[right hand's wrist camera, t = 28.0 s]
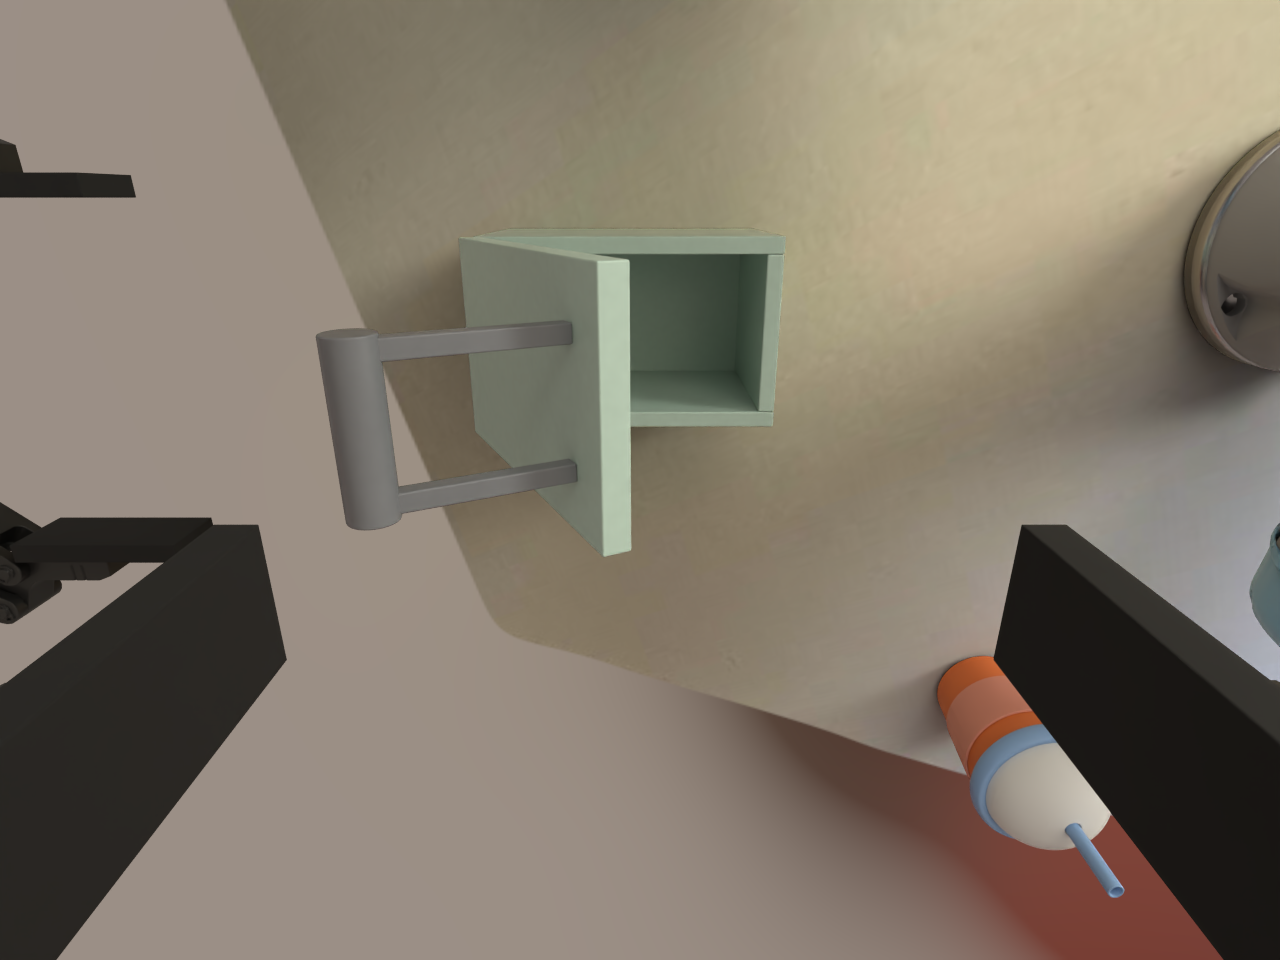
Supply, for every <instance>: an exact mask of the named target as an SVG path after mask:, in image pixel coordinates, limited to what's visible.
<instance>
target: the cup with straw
mask: <svg viewBox="0 0 1280 960" xmlns="http://www.w3.org/2000/svg"><path fill="white" fill-rule="evenodd" d="M993 659H994V657H989V656H977V657H972V658H968V659H965V660H963V661H961V662H959V663H957V664H955V665H954V666H952V667H951V668H950V669H949V670H948V671H947V672H946V673H945V674H944V676H943V677H942V679H941V681H940V683H939V686H938V691H937V697H938V702H939V704H940V707H941V709H942V712H943V714H944V716H945V719H946V721H947V728H948V732H949V734H950V736H951V739H952V741H953V743H954V746H955V748H956V750H957V752H958V755H959V757H960V759H961V762H962V764H963V766H964V769H965V771H966V773H967V776H968V778H969V779H970V795H971V799H972V802H973V805H974V807H975V809H976V811H977V813H978V814H979V815H980V817H981V818H982V819H983V820H984V821H985V822H986V823H987V824H988V825H989V826H990V827H991V828H992V829H994V830H995V831H997V832H998V833H1000V834H1002V835H1004V836H1007V837H1010V838H1013V839H1017V840H1018V841H1020V842H1022V843H1024V844H1027V845H1030V846H1032V847H1036V848H1041V849H1047V850H1064V849H1070V848H1074V847H1076V848H1077V849H1078V850H1079V852H1080V853H1081V855H1082V856H1083V858H1084V859H1085V861H1086V862H1087V864H1088V865H1089V867H1090V868H1091V870H1092V871H1093V873H1094V874H1095V876H1096V877H1097V879H1098V880H1099V882H1100V883H1101V884H1102V886H1103V888H1104V889H1105V891H1106V892H1107V893H1108V895H1109V896H1110V897H1114V898H1115V897H1119V896H1121V895H1122V894H1123V893H1124V888H1123V887H1122V885H1121V884H1120V883H1119V881H1118V880H1117V878H1116V877H1115V875H1114V874H1113V873H1112V871H1111V870H1110V868H1109V867H1108V865H1107V864H1106V863H1105V861H1104V860H1103V858H1102V857H1101V855H1100V854H1099V853H1098V851H1097V850H1096V848H1095V847H1094V846H1093V844H1092V843H1091V841H1090V840H1091V839H1092V838H1094V837H1095V836H1096V835H1097V834H1098V833H1099V832H1100V831H1101V830H1102V829H1103V827H1104V826H1105V825H1106V823H1107V821H1108V819H1109V817H1110V814H1111V812H1110V811H1109V810H1108V808H1107V807H1106V806H1105V805H1104V803H1103V802H1102V801H1101V799H1100V798H1099V797H1098V795H1097V794H1096V793H1095V792H1094V790H1093V789H1092V788H1091V786H1090V785H1089V784H1088V782H1087V781H1086V780H1085V779H1084V777H1083V776H1082V775H1081V773H1080V772H1079V771H1078V769H1077V768H1076V767H1075V766H1074V764H1073V763H1072V762H1071V760H1070V759H1069V758H1068V756H1067V755H1066V754H1065V753H1064V751H1063V750H1062V749H1061V747H1060V746H1059V745H1058V743H1057V742H1056V741H1055V739H1054V738H1053V737H1052V736H1051V734H1050V733H1049V732H1048V730H1047V729H1046V728H1045V726H1044V725H1043V724H1042V723H1041V721H1040V720H1039V719H1038V717H1037V716H1036V715H1035V713H1034V712H1033V711H1032V710H1031V708H1030V707H1029V706H1028V704H1027V703H1026V702H1025V700H1024V699H1023V698H1022V697H1021V695H1020V694H1019V693H1018V691H1017V690H1016V689H1015V687H1014V686H1013V685H1012V684H1011V682H1010V681H1009V680H1008V678H1007V677H1006V676H1005V674H1004V673H1003V672H1002V670H1001V669H1000V668H999V667H998V665H997V664H996V663H995V661H994V660H993Z"/></svg>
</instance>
